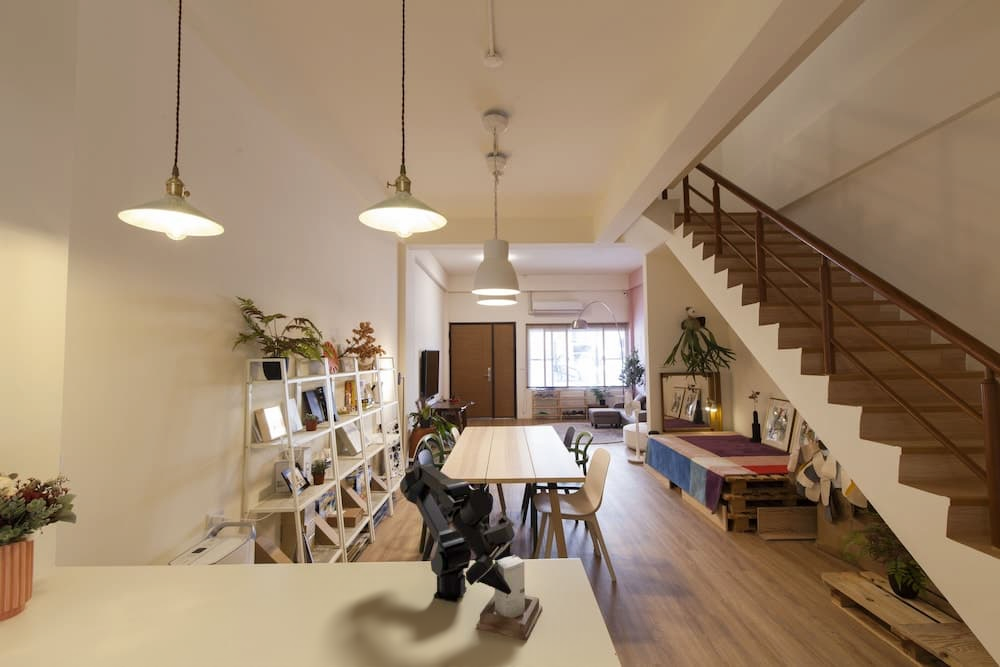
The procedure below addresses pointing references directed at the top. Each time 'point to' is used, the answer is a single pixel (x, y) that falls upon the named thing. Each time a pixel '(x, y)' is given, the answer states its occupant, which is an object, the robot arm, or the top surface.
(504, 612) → the skincare box
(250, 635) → the top surface
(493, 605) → the walnut holder
